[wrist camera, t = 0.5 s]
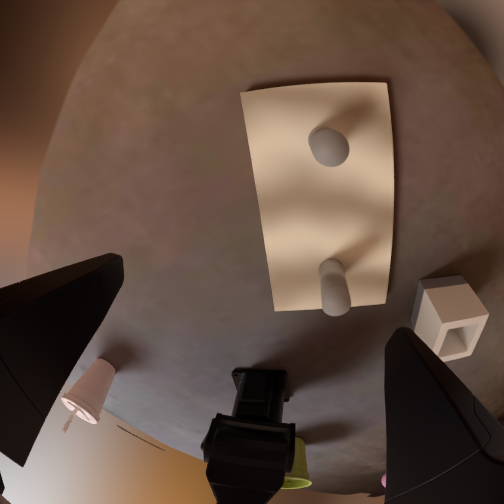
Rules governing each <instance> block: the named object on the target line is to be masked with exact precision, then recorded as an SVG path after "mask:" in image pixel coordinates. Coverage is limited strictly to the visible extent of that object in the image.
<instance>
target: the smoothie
mask: <svg viewBox="0 0 504 504" xmlns="http://www.w3.org/2000/svg"><path fill="white" fill-rule="evenodd" d="M115 373H116V371H115V369H114V367H113V366H112V365H111V364H110V363H108V362H107V361H105V360H103V359H97V360H96V361H95V362H94V363H93V364H92V365H91V366H90V368H89V369H88V370H87V371H86V372H85V373H84V374H83V375H82V377H81V378H80V379H79V380H78V381H77V382H76V383H75V385H74V386H73V387H72V388H71V389H70V391H69V392H68V393H65V394H64V395H63V397H62V398H61V399H62V401H63V403H64V404H65V406H66V407H67V408H69V410H71V411H72V414H71V415H70V417H69V419H68V421H67V422H66V424H65V426H64V428H63V429H62V431H63V432H66V430H67V429H68V427H69V425H70V423H71V421H72V420H73V418H74V416H75V414H76V415H77V416H79V417H80V418H82V419H84V420H85V421H87V422H89V423H92V424H96V423H98V421H99V419H100V417H99V414H100V412H101V409H102V406H103V403H104V401H105V398H106V396H107V393H108V390H109V388H110V385H111V383H112V380H113V378H114V375H115Z"/></svg>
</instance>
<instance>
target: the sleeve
mask: <svg viewBox="0 0 504 504" xmlns="http://www.w3.org/2000/svg"><path fill="white" fill-rule="evenodd" d="M488 315H489V313H488V312H487V310H486V309H485V307H484V306H483V304H482V303H481V301H480V300H479V298H478V297H477V295H476V294H475V293H474V291H473V290H472V288H471V287H470V286H469V284H468V283H467V282H466V280H465V279H464V278H463V276H462V275H456V276H448V277H440V278H431V279H422V280H419V283H418V288H417V293H416V298H415V303H414V307H413V311H412V316H411V320H410V322H411V324H412V327H413V329H414V332H415V334H416V335H417V336H418V337H419V338H420V339H421V340H422V341H423V342H424V343H425V344H426V345H427V346H428V347H429V348H430V349H431V350H432V351H433V352H434V353H435V354H436V355H437V356H438V357H439V358H440V359H441V360H442V361H443V362H445V361H450V360H454V359H458V358H462V357H466V356H470V355H471V354H472V352H473V350H474V347H475V345H476V343H477V341H478V339H479V337H480V334H481V332H482V330H483V328H484V325H485V323H486V320H487V318H488Z"/></svg>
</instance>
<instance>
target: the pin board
mask: <svg viewBox="0 0 504 504" xmlns="http://www.w3.org/2000/svg"><path fill="white" fill-rule="evenodd" d="M240 95H241V101H242V106H243V112H244V118H245V124H246V130H247V136H248V141H249V147H250V153H251V160H252V166H253V172H254V178H255V184H256V190H257V196H258V203H259V209H260V215H261V222H262V228H263V235H264V241H265V248H266V254H267V261H268V268H269V274H270V281H271V288H272V295H273V302H274V308H275V311H291V310H310V309H323V311H324V312H325V313H326V314H328V315H331V316H340V315H343V314H345V313H346V312H347V311H348V310H349V309H350V307H353V306H365V305H376V304H385V302H386V296H387V288H388V280H389V271H390V261H391V250H392V236H393V215H394V160H393V140H392V126H391V115H390V106H389V97H388V90H387V83H377V82H340V83H318V84H304V85H293V86H284V87H275V88H268V89H261V90H254V91H248V92H242V93H240Z"/></svg>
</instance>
